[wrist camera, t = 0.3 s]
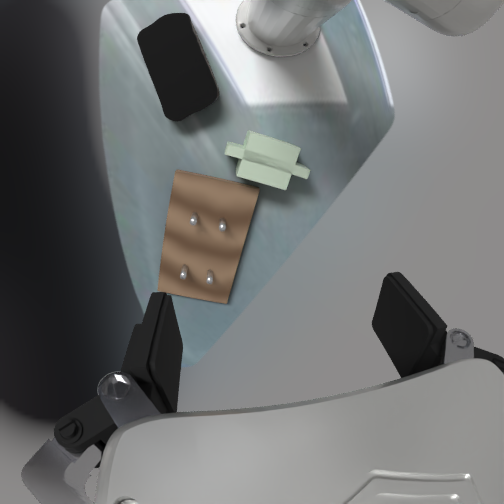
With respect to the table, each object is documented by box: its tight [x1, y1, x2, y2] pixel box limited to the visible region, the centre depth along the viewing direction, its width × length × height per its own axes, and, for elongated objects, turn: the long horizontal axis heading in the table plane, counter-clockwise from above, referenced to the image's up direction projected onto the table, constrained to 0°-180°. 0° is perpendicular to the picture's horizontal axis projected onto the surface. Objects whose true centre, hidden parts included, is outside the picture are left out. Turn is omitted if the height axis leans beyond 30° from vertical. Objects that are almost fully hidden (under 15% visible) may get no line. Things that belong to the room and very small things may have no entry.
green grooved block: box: [225, 130, 310, 190], centre depth 39 cm, size 12×6×5 cm, turn 73°
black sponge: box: [137, 13, 219, 121], centre depth 32 cm, size 16×8×4 cm, turn 19°
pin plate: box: [158, 170, 260, 304], centre depth 45 cm, size 22×13×4 cm, turn 165°
